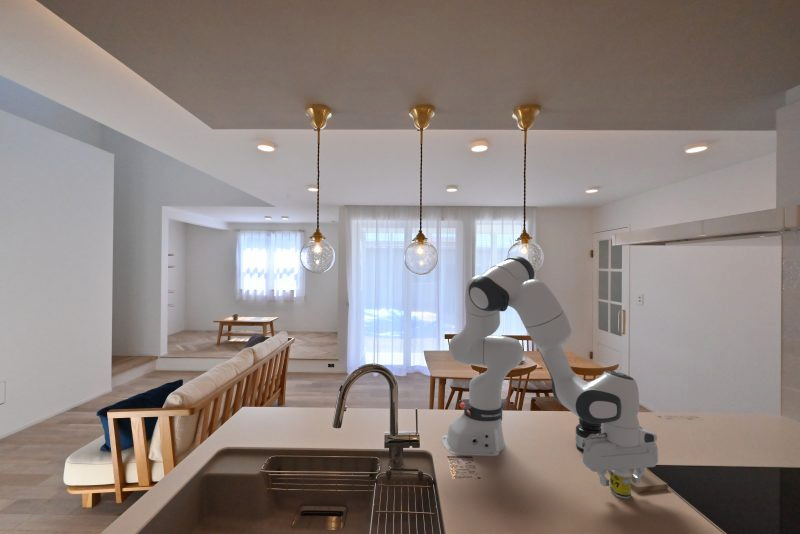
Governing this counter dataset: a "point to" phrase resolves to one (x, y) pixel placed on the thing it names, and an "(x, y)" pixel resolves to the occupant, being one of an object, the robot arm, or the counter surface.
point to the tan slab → (648, 483)
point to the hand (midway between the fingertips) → (620, 483)
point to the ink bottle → (585, 432)
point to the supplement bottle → (620, 483)
